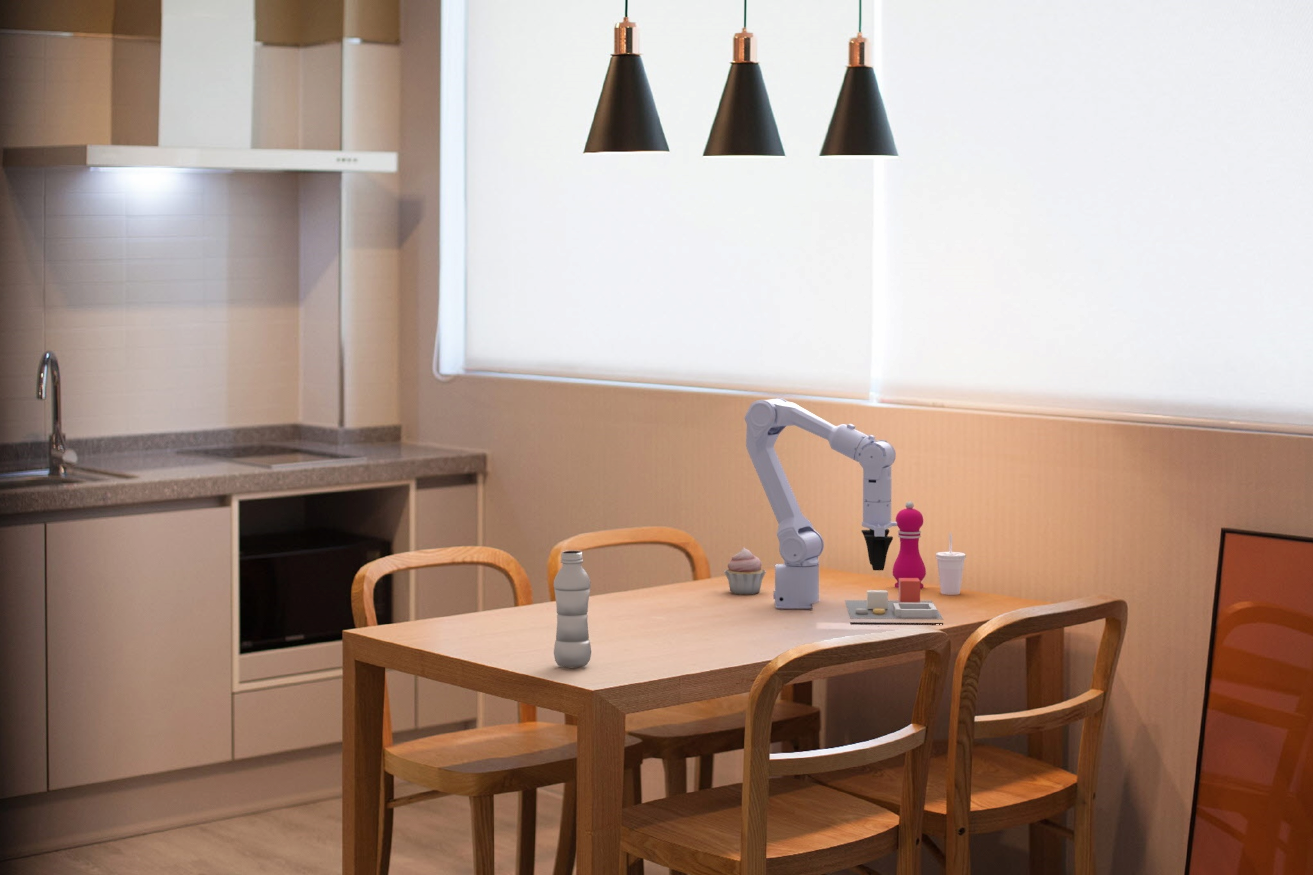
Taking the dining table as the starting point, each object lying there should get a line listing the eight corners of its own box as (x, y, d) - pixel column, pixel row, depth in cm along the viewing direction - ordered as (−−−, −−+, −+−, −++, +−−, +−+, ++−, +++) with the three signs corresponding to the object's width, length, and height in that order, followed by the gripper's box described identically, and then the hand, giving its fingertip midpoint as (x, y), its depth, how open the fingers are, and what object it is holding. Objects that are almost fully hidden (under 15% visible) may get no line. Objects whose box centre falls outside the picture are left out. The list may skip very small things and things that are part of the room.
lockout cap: (900, 605, 315) (900, 581, 315) (898, 601, 319) (898, 577, 319) (920, 605, 315) (920, 581, 315) (918, 601, 319) (918, 578, 319)
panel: (850, 624, 302) (850, 610, 302) (844, 605, 322) (844, 593, 322) (943, 625, 301) (943, 611, 300) (931, 606, 321) (931, 593, 320)
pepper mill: (892, 588, 342) (892, 499, 341) (925, 589, 341) (925, 499, 340) (892, 594, 335) (893, 503, 334) (926, 595, 334) (926, 503, 333)
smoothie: (964, 596, 333) (964, 531, 332) (967, 601, 326) (967, 535, 325) (933, 595, 333) (934, 531, 332) (936, 601, 327) (936, 535, 326)
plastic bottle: (547, 669, 264) (546, 553, 262) (563, 661, 270) (562, 548, 269) (582, 672, 262) (580, 555, 260) (597, 664, 268) (596, 550, 266)
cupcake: (744, 587, 345) (744, 543, 344) (774, 592, 338) (774, 547, 338) (714, 592, 339) (714, 547, 338) (745, 597, 332) (745, 551, 331)
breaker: (867, 608, 311) (867, 592, 310) (866, 606, 313) (866, 590, 313) (887, 609, 310) (887, 592, 310) (886, 606, 313) (886, 590, 313)
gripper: (900, 504, 305) (899, 573, 306) (893, 496, 319) (893, 561, 320) (864, 504, 305) (864, 572, 306) (859, 496, 319) (859, 561, 320)
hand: (876, 567), depth 313 cm, fingers open, 7 cm apart
